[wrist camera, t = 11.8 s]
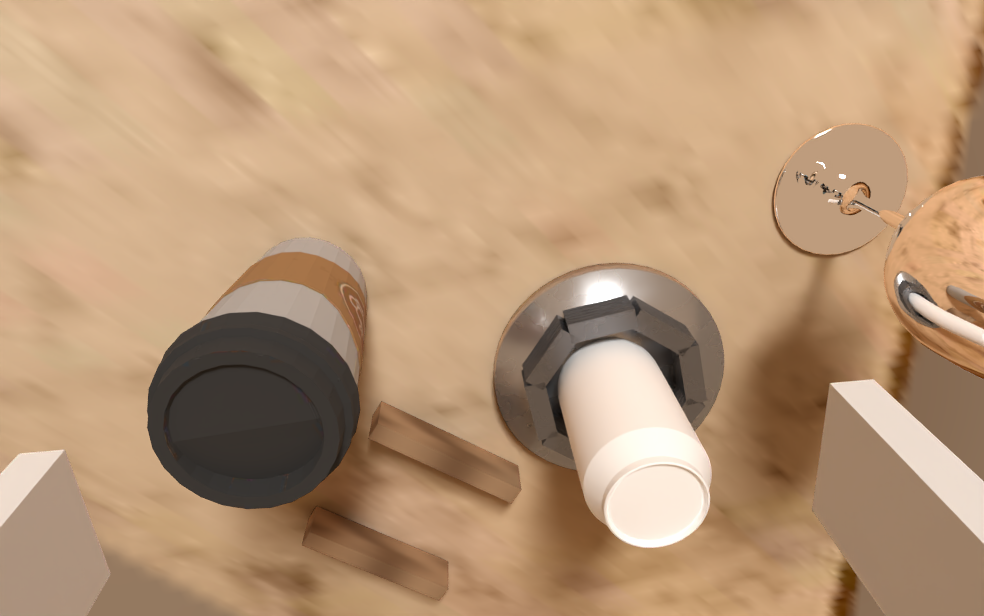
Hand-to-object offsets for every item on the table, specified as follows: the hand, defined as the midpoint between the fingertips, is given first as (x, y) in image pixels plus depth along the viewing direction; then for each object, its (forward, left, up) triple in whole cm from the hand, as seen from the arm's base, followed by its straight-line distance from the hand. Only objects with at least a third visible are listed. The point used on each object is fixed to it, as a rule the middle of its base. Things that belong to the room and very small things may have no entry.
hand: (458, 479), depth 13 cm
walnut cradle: (+9, -21, -29) cm, 37 cm away
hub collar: (+15, -7, -29) cm, 33 cm away
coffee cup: (-3, -11, -29) cm, 31 cm away
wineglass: (+20, +9, -29) cm, 36 cm away
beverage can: (+15, -7, -28) cm, 32 cm away
